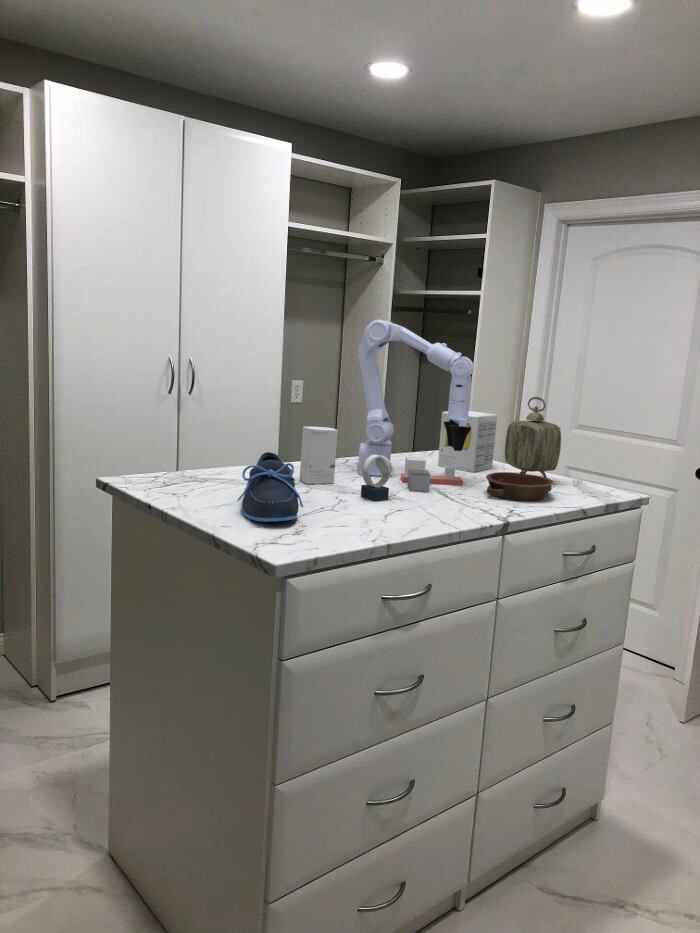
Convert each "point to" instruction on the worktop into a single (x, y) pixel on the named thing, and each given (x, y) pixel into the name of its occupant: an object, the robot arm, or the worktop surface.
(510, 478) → the dish
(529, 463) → the tabletop clock
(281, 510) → the moccasin
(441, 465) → the supplement box
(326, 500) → the worktop surface
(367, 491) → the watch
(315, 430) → the skincare box
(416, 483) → the grey cube
